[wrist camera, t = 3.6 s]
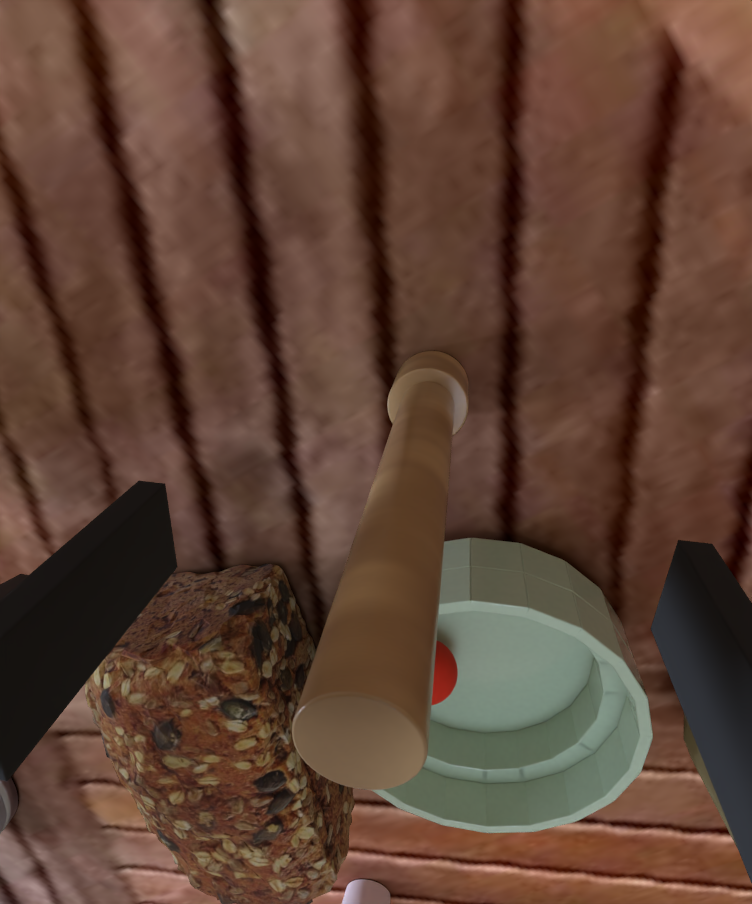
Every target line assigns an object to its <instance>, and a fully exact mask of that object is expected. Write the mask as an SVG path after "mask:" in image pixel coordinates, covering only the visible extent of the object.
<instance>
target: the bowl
mask: <svg viewBox="0 0 752 904" xmlns="http://www.w3.org/2000/svg"><path fill="white" fill-rule="evenodd" d="M437 640H438V641H440V642H441V643H443V644H444V645H445V646H446V647H448V649H449V650H450V651H451V653H452V654H453V656H454V658H455V660H456V664H457V669H458V676H457V682H456V685H455V687H454V689H453V691H452V693H451V694H450V695H449V696H448V697H447V698H446V699H445V700H444V701H442V702H440V703H438V704H435V705H431V718H430V731H429V744H428V754H427V759H426V761H425V764H424V765H423V767H422V769H421V770H420V772H419V773H418V774H417V775H416V776H415V777H414V778H412V779H411V780H410V781H408V782H406V783H404V784H402V785H399V786H397V787H393V788H389V789H382V790H372V791H373V792H375V793H376V794H378V795H379V796H381V797H382V798H384V799H385V800H387V801H388V802H390V803H392V804H393V805H395V806H396V807H398V808H399V809H401V810H404V811H406V812H409V813H412V814H414V815H417V816H419V817H422V818H425V819H427V820H430V821H432V822H435V823H437V824H440V825H444V826H449V827H455V828H461V829H466V830H472V831H478V832H484V833H515V832H536V831H540V830H544V829H548V828H552V827H556V826H560V825H565V824H569V823H573V822H576V821H579V820H581V819H582V818H584V817H586V816H588V815H590V814H592V813H594V812H595V811H597V810H599V809H601V808H603V807H605V806H607V805H609V804H610V803H612V802H613V801H615V800H616V799H617V798H618V797H619V796H620V795H621V793H622V792H623V791H624V790H625V789H626V788H627V787H628V786H629V785H630V784H631V783H632V782H633V781H634V780H635V778H636V777H637V776H638V775H639V774H640V772H641V771H642V768H643V765H644V762H645V759H646V756H647V753H648V750H649V748H650V745H651V742H652V739H653V732H652V724H651V717H650V710H649V702H648V697H647V694H646V692H645V689H644V686H643V683H642V680H641V677H640V674H639V672H638V669H637V666H636V663H635V660H634V657H633V654H632V652H631V649H630V646H629V643H628V640H627V637H626V634H625V632H624V629H623V626H622V623H621V621H620V619H619V618H618V616H617V615H616V613H615V611H614V610H613V608H612V606H611V605H610V603H609V602H608V600H607V598H606V597H605V595H604V594H603V592H602V590H600V588H599V587H598V586H596V585H595V584H594V583H593V582H591V581H590V580H589V579H587V578H586V577H585V576H584V575H582V574H581V573H580V572H579V571H577V570H576V569H575V568H574V567H572V566H571V565H570V564H569V563H567V562H566V561H564V560H562V559H560V558H557V557H555V556H552V555H550V554H547V553H545V552H542V551H539V550H537V549H534V548H532V547H529V546H527V545H524V544H522V543H516V542H507V541H498V540H489V539H480V538H464V539H458V540H451V541H445V542H444V551H443V564H442V577H441V590H440V602H439V615H438V628H437Z"/></svg>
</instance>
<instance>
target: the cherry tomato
mask: <svg viewBox="0 0 752 904" xmlns="http://www.w3.org/2000/svg"><path fill="white" fill-rule="evenodd" d="M457 676H458V669H457V664H456V660H455V658H454V656H453V654H452V653H451V651H450V650H449V649H448V647H446V646H445V645H444V644H443V643H441V642H440V641H438V640H437V641H436V654H435V667H434V680H433V692H432V705H435V704H438V703H440V702H442V701H444V700H445V699H446V698H447V697H448V696H449V695H450V694H451V693H452V691H453V689H454V687H455V685H456V682H457Z"/></svg>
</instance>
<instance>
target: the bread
mask: <svg viewBox="0 0 752 904" xmlns="http://www.w3.org/2000/svg"><path fill="white" fill-rule="evenodd" d="M315 653H316V649H315V646H314V643H313V639H312V637H311V636H310V635H309V634H308V632H307V629H306V622H305V620H304V619H302V615H301V612H300V608H299V607H298V605H297V604H296V603H295V597H294V595H293V593H292V591H291V589H290V586H289V583H288V580H287V577H286V575H285V573H284V571H283V570H282V569H281V568H280V567H279V566H277V565H273V564H263V565H261V566H260V567H258V568H257V567H255V566H249V565H238V566H234V567H231V568H229V569H226V570H224V571H221V572H211V573H207V574H196V573H192V572H182V573H177V574H172V575H171V576H170V577H169V578H168V579H167V581H166V582H165V583H164V584H163V586H162V587H161V588H160V589H159V591H158V592H157V593H156V594H155V596H154V597H153V598H152V600H151V601H150V602H149V603H148V605H147V606H146V607H145V608H144V610H143V611H142V612H141V613H140V615H139V616H138V617H137V618H136V620H135V621H134V622H133V623H132V625H131V626H130V627H129V629H128V630H127V631H126V632H125V634H124V635H123V636H122V637H121V639H120V640H119V641H118V642H117V644H116V645H115V646H114V647H113V649H112V650H111V651H110V652H109V654H108V655H107V656H106V657H105V659H104V660H103V661H102V663H101V664H100V665H99V666H98V668H97V669H96V670H95V671H94V673H93V674H92V675H91V676H90V678H89V679H88V680H87V681H86V686H85V695H86V699H87V702H88V706H89V707H90V708H91V710H92V714H93V720H94V723H95V724H96V725H97V726H98V727H99V728H100V731H101V735H102V739H103V743H104V747H105V751H106V755H107V757H108V758H110V759H111V762H112V764H113V766H114V769H115V771H116V774H117V776H118V778H119V781H120V782H121V784H122V785H123V786H124V787H125V788H126V789H127V790H128V791H129V792H130V793H131V795H132V796H133V798H134V800H135V801H136V803H137V805H138V809H139V810H140V812H141V814H142V815H143V816H144V819H145V822H146V826H147V829H148V830H149V832H151V833H154V834H156V835H157V837H158V839H159V841H160V842H161V843H163V844H164V845H165V846H166V847H167V848H168V849H169V850H170V851H171V853H172V856H173V858H174V861H175V864H178V870H180V871H181V872H183V873H185V874H187V876H188V878H189V881H190V884H191V885H192V886H193V887H194V888H195V889H198V890H200V891H201V892H203V893H205V894H207V895H211V896H214V897H216V898H217V900H220V902H221V903H222V904H233V903H235V904H310V903H311V902H313V901H312V899H314V898H316V897H318V896H321V895H323V894H325V893H327V892H330V890H331V888H332V886H333V884H334V882H335V881H336V880H337V873H338V871H339V869H340V866H341V864H342V863H343V861H344V860H345V858H346V856H347V853H348V848H349V827H350V825H351V823H352V817H351V812H352V810H353V808H354V805H355V803H354V799H353V788H352V787H347V786H344V785H341V784H338V783H336V782H333V781H331V780H329V779H327V778H325V777H324V776H322V775H320V774H319V773H317V772H316V771H315V770H313V769H312V768H311V767H310V766H309V765H308V764H307V763H306V762H305V761H304V760H303V759H302V758H301V756H300V755H299V753H298V751H297V749H296V747H295V745H294V742H293V737H292V722H293V718H294V715H295V713H296V710H297V707H298V704H299V701H300V698H301V695H302V692H303V689H304V686H305V683H306V680H307V677H308V674H309V671H310V668H311V665H312V662H313V659H314V656H315Z"/></svg>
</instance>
